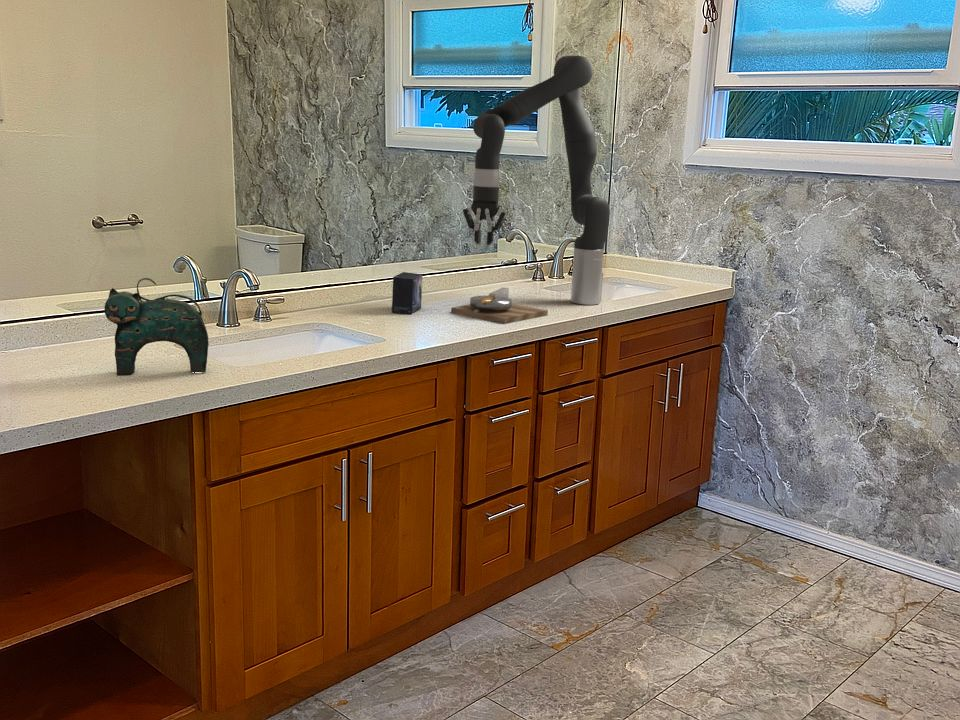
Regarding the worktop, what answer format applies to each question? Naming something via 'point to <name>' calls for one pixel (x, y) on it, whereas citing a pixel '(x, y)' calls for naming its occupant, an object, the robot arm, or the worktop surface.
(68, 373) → the worktop surface
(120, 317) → the ceramic cat
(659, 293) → the worktop surface
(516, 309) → the stand
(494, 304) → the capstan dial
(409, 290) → the small box
